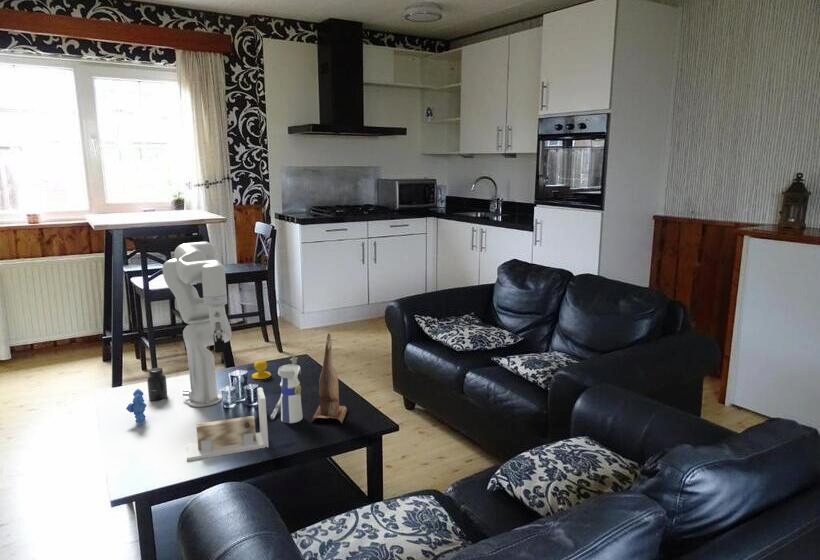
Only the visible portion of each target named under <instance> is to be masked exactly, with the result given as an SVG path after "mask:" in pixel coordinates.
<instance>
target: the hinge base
mask: <svg viewBox="0 0 820 560" xmlns="http://www.w3.org/2000/svg"><path fill="white" fill-rule="evenodd" d="M256 390H257V391H256V392H257V393H256V394H257V403H258V404H257V406H258V418H259V419H258V420H259V432H256V441H253V433H248V434H243V438H244V443H241V444H235V445H229V446H223V447H216V448H212V447H211V440H205V441H201V449H202V450H198V441H197V442H192V443H191V442H190V443H187V444H186V461H187V460H190V461H194V460H193V459H196V460H200V459H199V458H202V459H207V458H206V457H208V458H213V456H214V457H218V456H225V455H230V454H238V453H241V452H242V453H243V452H249V451H254V450H258V449H259V450H260V448H261V449H266V448H265V447H267V448H270V447H269V445H270V444H269V433H268V418H267V402H266V396H265V393H264V389H263V387H262V386H261V387H257V388H256Z"/></svg>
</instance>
